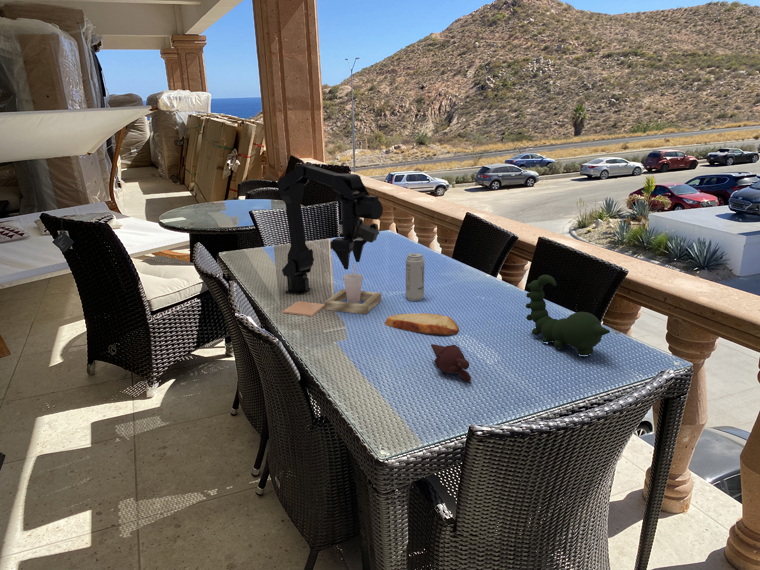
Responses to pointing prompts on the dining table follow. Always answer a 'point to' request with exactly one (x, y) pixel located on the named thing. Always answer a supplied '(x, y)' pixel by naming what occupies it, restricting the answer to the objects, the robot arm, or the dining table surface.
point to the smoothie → (353, 286)
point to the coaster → (304, 308)
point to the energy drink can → (415, 277)
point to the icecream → (451, 360)
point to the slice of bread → (423, 323)
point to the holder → (338, 305)
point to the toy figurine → (563, 322)
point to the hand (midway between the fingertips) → (352, 265)
